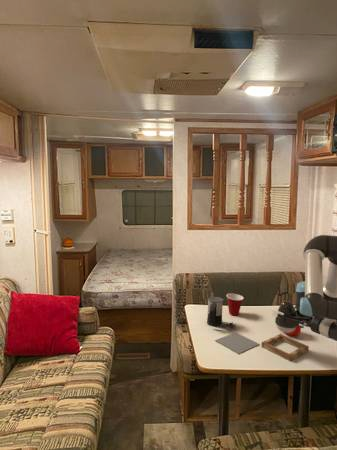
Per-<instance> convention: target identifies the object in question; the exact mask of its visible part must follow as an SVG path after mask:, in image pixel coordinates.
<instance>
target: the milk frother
mask: <svg viewBox="0 0 337 450" xmlns="http://www.w3.org/2000/svg"><path fill="white" fill-rule="evenodd" d="M223 301H224V299H223V298H222V297H219V296H209V297H208V298H207V319H206V324H207V325H209V326H212V327H220V326H223V327H229V328H233V327H236V325H235V324H234V322H229V323H223V303H224V302H223Z"/></svg>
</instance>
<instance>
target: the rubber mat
mask: <svg viewBox="0 0 337 450" xmlns="http://www.w3.org/2000/svg"><path fill="white" fill-rule="evenodd" d="M214 342H216V343H218V344H220V345H221V346H223V347H225V348H227V349H228V350H230V351H232V352H234V353H236V354H237V355H240V354H242V353H245V352H247V351H250V349H253V348H255V347H257V346H260V343H258V342H256V341H254V340H252V339H250V338H248V337H247V336H244V335H242V334H240V333H238V332H236V331H234V332H232V333H230V334H227V335H225V336H223V337H219V338H217V339H215V340H214Z"/></svg>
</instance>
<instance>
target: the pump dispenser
mask: <svg viewBox="0 0 337 450" xmlns="http://www.w3.org/2000/svg"><path fill="white" fill-rule="evenodd" d="M294 307H295V305H294V304H293V303H292V302H291V301H290V300H283V301H282V302H281V303H280V305H279V306H278V310H277V311H279V312H281V313H285V315H288V316H294V317H296V312H295V308H294ZM274 322H275V325H276V328H277V329H278V331H280V332H282V333H284V332H285V333H284V334H286V333H290V332H293V331H294V330H295V328H296V327H297V326H295V325H291V324H288V323H285V322H282V319H281V318H279V317H276V316H275V320H274Z"/></svg>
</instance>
